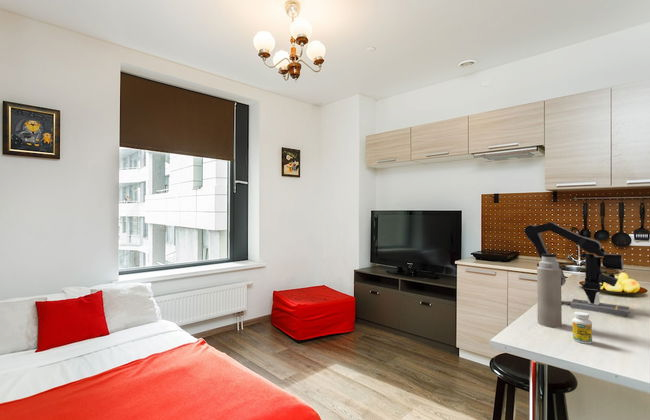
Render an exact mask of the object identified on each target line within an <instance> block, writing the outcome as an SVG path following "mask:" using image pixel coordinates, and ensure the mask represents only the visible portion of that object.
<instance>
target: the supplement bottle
mask: <svg viewBox="0 0 650 420" xmlns="http://www.w3.org/2000/svg"><path fill="white" fill-rule="evenodd" d="M571 323H572V340H573V341H575V342H576V343H580V344H584V345H585V344H587V345H588V344H592V343H593V324H592V323H593V322H592V321H591V319H590V313H588V312H583V311H575V312H574V318H572V322H571Z"/></svg>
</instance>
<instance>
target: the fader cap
mask: <svg viewBox="0 0 650 420" xmlns="http://www.w3.org/2000/svg"><path fill="white" fill-rule="evenodd" d="M586 297H587V296H586ZM600 297H601V296H600V291H599V292H597V293H596V297H595V301H594V304H595V305H599V303H601V302H600ZM586 301H587V303H588V304H591V303H590V301H589V299H588V297H587V300H586Z"/></svg>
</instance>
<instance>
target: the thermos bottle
mask: <svg viewBox="0 0 650 420" xmlns="http://www.w3.org/2000/svg"><path fill="white" fill-rule="evenodd" d="M556 257H557V254H554V253H549V254H542V260H540V261H539V262H538V266H537V267H536V277H537V280H536V286H537V287H536V288H537V289H536V290H537V292H536V293H537V297H536V299H537V300H536V301H537V304H536V306H537V323H538V324H539V325H540V326H543V327H547V328H553V329H554V328H555V329H556V328H562V325H563V324H562V323H563V321H562V319H563V318H562V316H563V315H562V313H563V312H562V306H563V305H562V303H561V301H562V286H561V270H562V268H560V262H558V261H557V258H556Z"/></svg>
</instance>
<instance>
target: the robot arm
mask: <svg viewBox="0 0 650 420" xmlns="http://www.w3.org/2000/svg"><path fill="white" fill-rule="evenodd" d="M523 231H524V235H526V237H527V238H528V239H529V241H530V242H531V243H533V246H534V248H535V249H536V252H537V254H538V255H539V258H540V261H542V254H550V253H549V250H548V248H547V246H546V244H545V242H544V239H543V233H546V232H549V231H550V232H552V233H554V234H556V235H559V236H560V237H563V238H565V239H567V240H568V241H570V242H573V243H574V244H576V245H577V246H578V247H580V248H581V249H583V250H584V252H583V253H582V254H580V255H579V257H580V258H584V261H585V262H584V272H585V276H584V281H583V282H582V283H581V284H582V289H583V291H584V294H585V295H586V297H588V299H589V301H590V303H591V304H594V301H595V297H596V293H597V292H599V293H600V291H601V288H602V287H603V286H604V283H605V284H608V285H610V286H612V287H615V286H616V285H617V282H618V281H619V278H617V277H616V275H615V274H614V273H609V274H607V273H604V271H603V270H602V267H603V268H605V269H606V270H614V271H615V270H616V271H617V270H618V271H624V260H623V255H622V254H621V253H619V254H618V253H617V254H612V253H607V251H605V249H604V248H603V245H602V243H601V242H600V241H599V240H597V239H593V238H591V237H587V236H582V235H580V234H578V233H575V232H574V231H571V230H569V229H567V228H565V227H563V226H561V225H559V224H557V223H555V222H553V221H551V222H547V223H544V224H538V225H537V224H532V225H531V224H530V225H527V226H525V228H524V230H523ZM566 279H567V277H566V276H565V274H564V271H563V269H561V287H563V286H564V285H565V284H566ZM563 303H564V301H562V300H561V304H563Z"/></svg>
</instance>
